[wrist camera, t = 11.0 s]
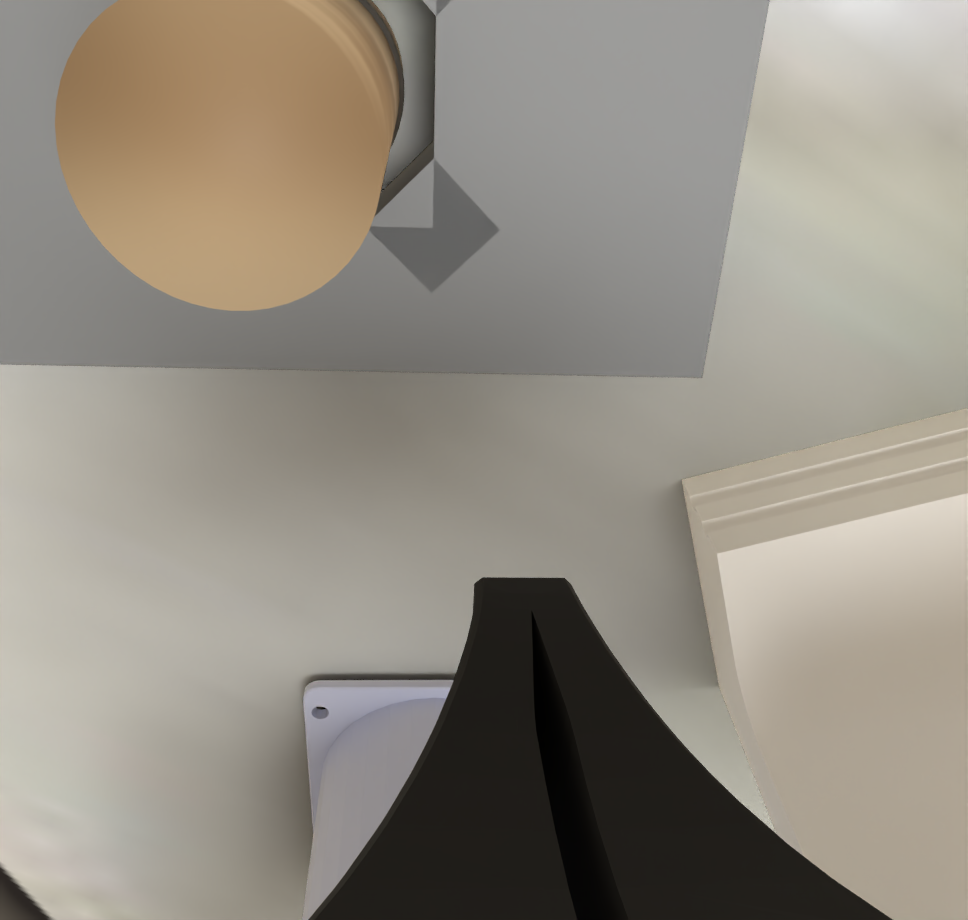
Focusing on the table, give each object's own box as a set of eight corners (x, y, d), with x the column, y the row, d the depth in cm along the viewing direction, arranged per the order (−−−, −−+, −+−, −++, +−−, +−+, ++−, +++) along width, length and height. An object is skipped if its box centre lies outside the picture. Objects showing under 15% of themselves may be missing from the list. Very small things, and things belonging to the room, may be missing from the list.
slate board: (680, 345, 22) (702, 377, 21) (-61, 328, 21) (-104, 362, 20) (779, -257, 17) (819, -283, 15) (-238, -326, 15) (-323, -361, 14)
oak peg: (403, 182, 20) (384, 325, 12) (215, 168, 20) (73, 306, 12) (411, -27, 18) (394, -14, 10) (202, -47, 18) (21, -48, 10)
